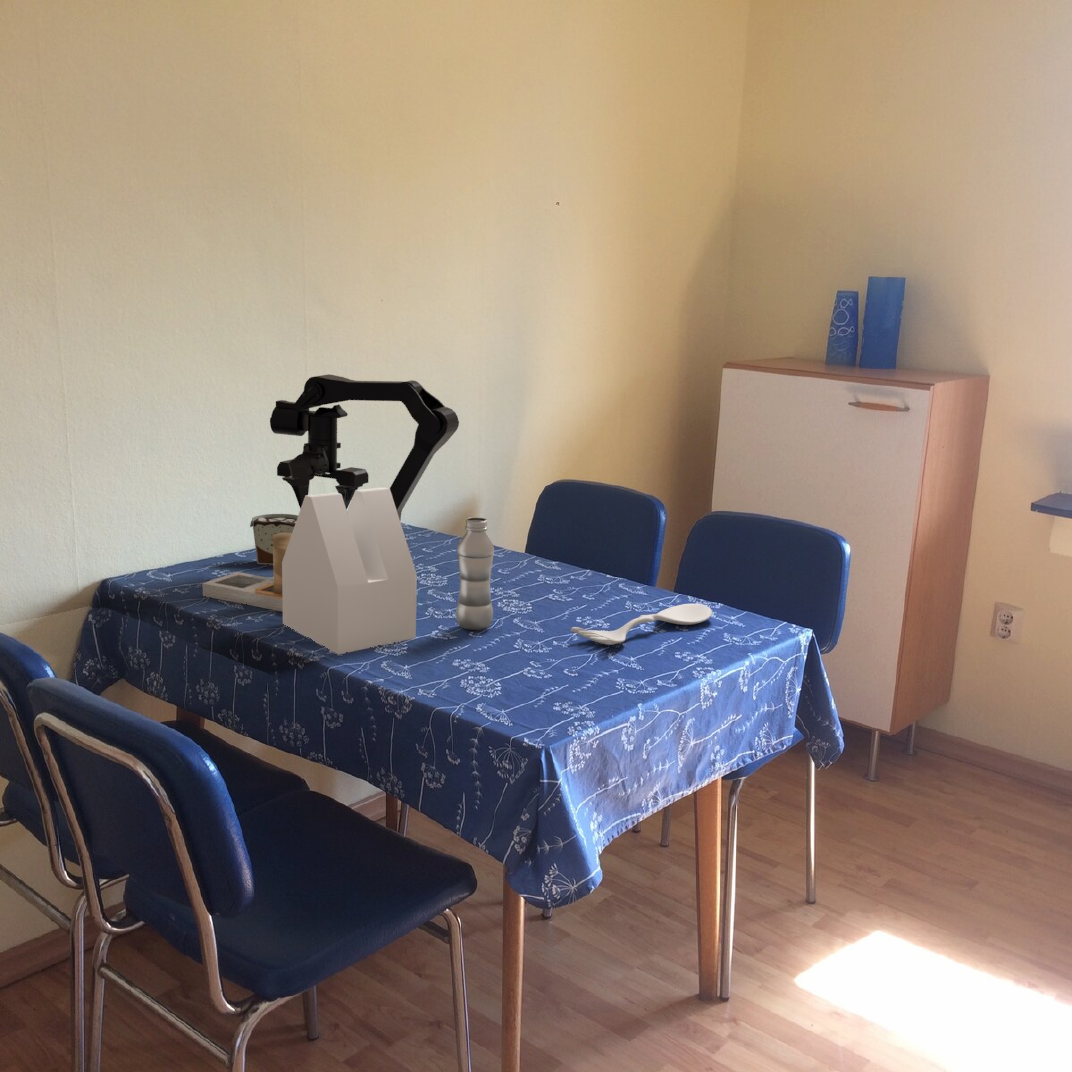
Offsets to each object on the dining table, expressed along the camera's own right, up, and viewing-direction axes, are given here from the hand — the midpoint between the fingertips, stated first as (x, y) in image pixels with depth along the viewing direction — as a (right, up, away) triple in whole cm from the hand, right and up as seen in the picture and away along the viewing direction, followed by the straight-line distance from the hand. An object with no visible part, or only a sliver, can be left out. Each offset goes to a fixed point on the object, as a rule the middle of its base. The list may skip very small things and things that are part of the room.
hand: (322, 514), depth 226 cm
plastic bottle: (+32, -21, -27) cm, 47 cm away
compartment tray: (-8, -16, -14) cm, 23 cm away
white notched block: (+11, -21, -31) cm, 39 cm away
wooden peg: (-3, -17, -16) cm, 24 cm away
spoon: (+64, -22, -25) cm, 72 cm away
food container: (-11, -10, +13) cm, 20 cm away
